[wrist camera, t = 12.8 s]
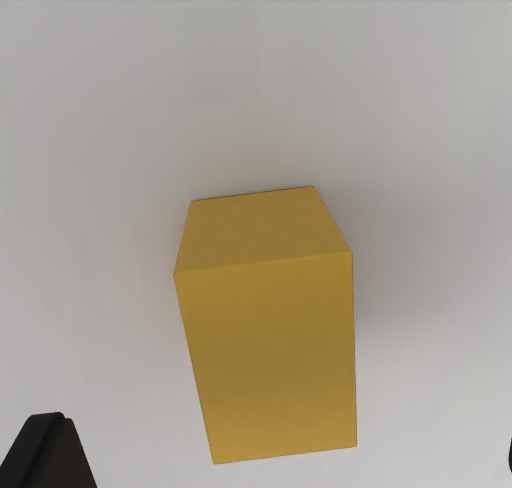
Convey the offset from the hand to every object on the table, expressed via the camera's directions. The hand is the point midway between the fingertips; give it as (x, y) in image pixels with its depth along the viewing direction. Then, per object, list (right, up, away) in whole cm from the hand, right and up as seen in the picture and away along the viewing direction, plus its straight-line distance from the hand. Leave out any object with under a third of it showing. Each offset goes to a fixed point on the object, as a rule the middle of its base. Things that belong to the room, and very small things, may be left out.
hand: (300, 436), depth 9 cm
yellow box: (-1, +3, +6) cm, 7 cm away
